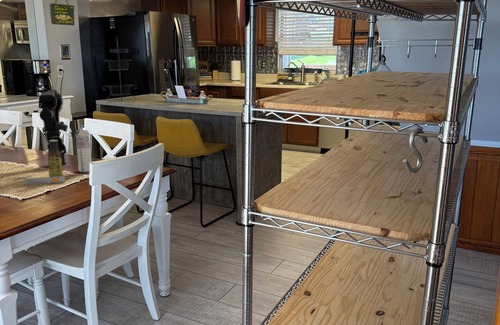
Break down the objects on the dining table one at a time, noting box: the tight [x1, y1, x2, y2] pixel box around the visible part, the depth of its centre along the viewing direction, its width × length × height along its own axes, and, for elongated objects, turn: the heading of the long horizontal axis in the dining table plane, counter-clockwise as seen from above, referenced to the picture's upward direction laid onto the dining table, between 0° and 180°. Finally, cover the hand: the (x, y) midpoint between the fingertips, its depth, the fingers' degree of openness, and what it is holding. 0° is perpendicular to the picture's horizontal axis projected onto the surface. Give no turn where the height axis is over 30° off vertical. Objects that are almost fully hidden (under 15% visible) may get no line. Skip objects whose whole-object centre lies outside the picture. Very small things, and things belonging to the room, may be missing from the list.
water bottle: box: [75, 124, 92, 173], centre depth 236 cm, size 7×7×25 cm
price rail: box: [23, 175, 66, 186], centre depth 215 cm, size 18×1×3 cm, turn 108°
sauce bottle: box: [47, 140, 63, 177], centre depth 221 cm, size 6×6×20 cm
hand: (52, 147), depth 235 cm, fingers open, 9 cm apart
